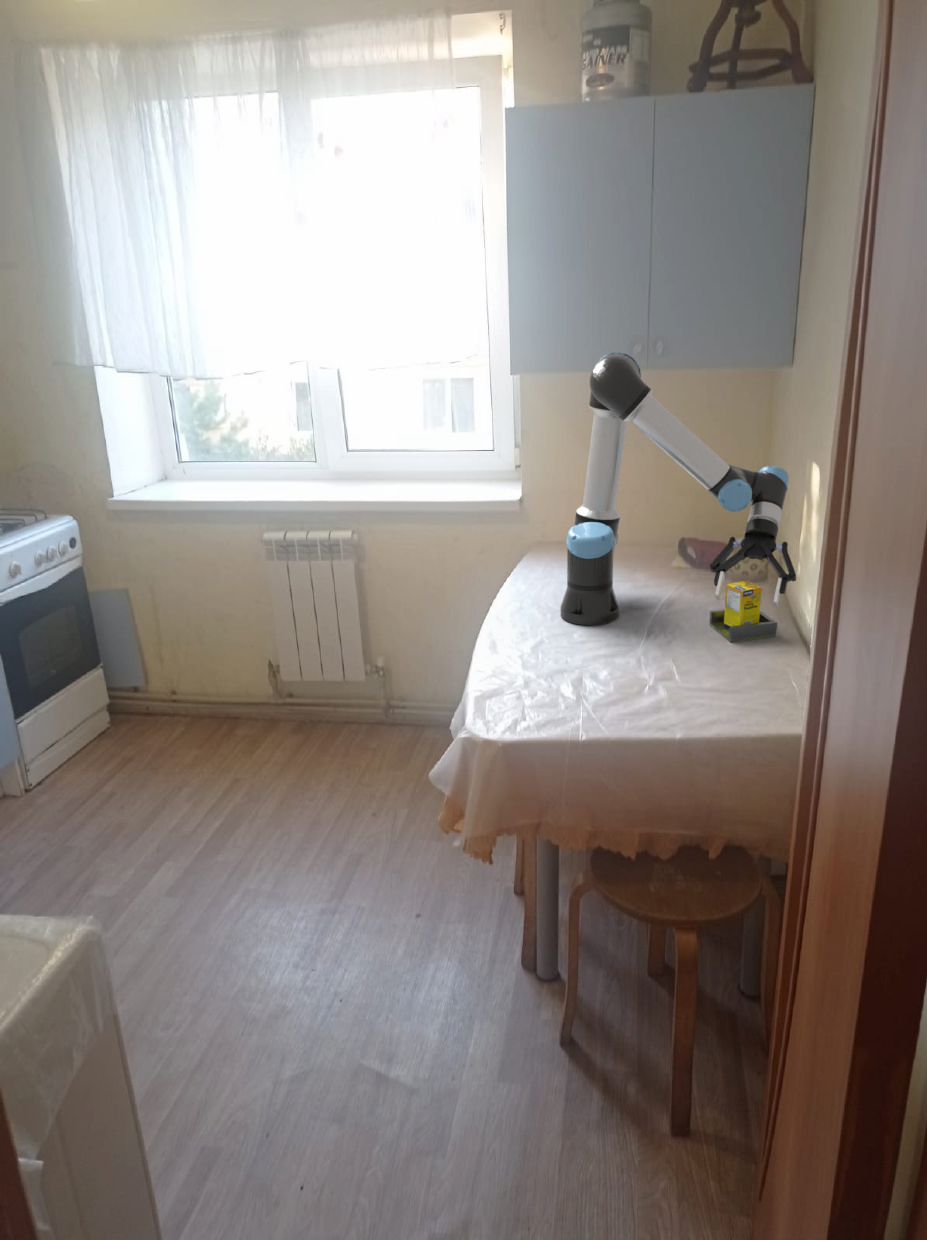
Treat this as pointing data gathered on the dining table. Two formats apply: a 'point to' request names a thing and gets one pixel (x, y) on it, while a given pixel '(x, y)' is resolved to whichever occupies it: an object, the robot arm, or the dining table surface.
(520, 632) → the dining table surface
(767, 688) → the dining table surface
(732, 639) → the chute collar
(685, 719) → the dining table surface
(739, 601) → the supplement box
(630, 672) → the dining table surface
